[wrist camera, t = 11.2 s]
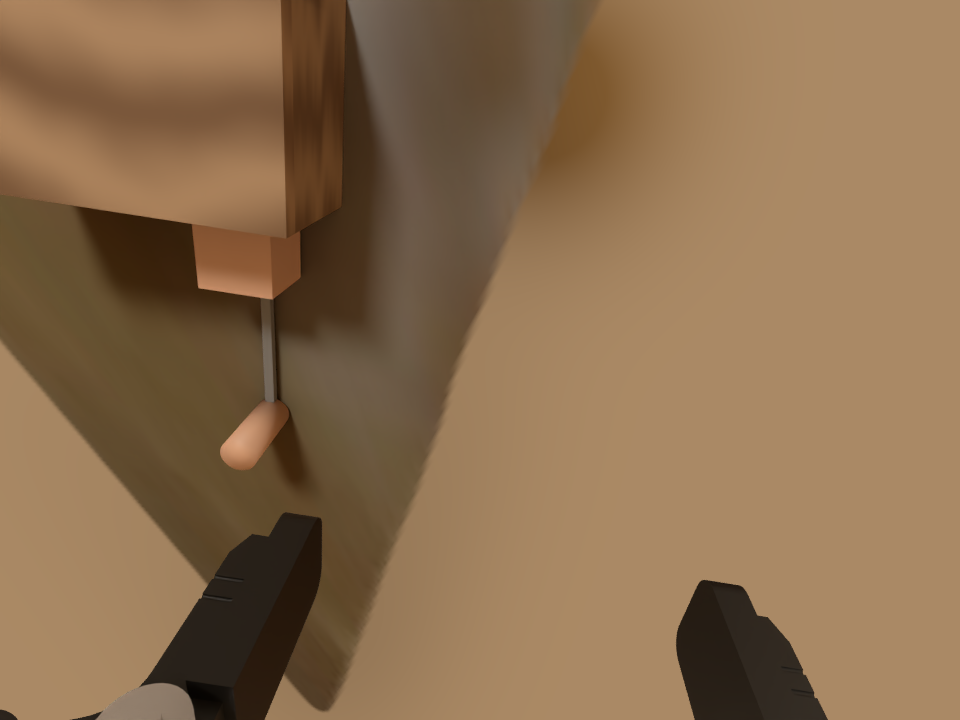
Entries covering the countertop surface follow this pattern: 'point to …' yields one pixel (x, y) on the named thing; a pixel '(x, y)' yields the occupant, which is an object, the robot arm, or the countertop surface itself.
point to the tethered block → (263, 274)
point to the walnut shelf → (176, 108)
